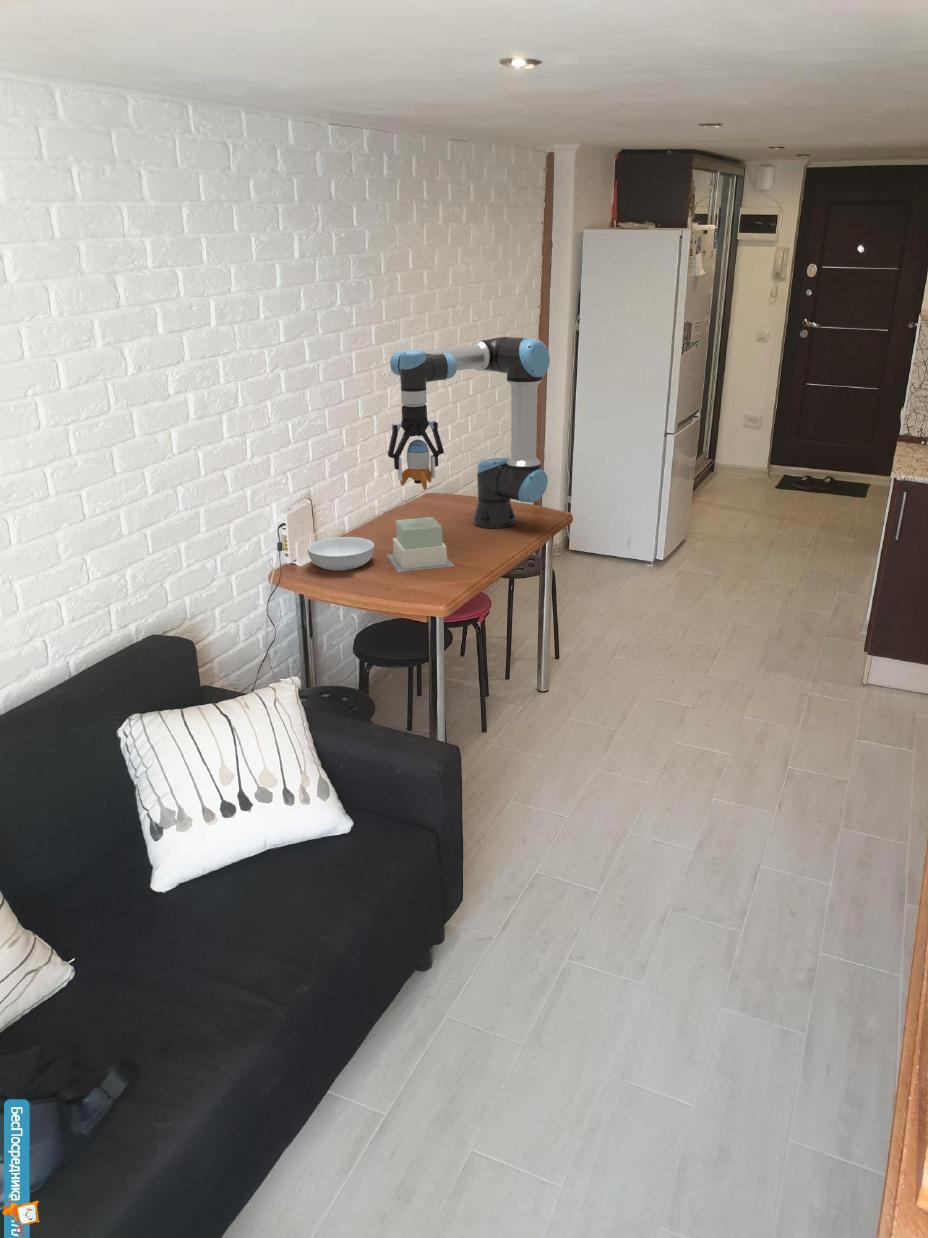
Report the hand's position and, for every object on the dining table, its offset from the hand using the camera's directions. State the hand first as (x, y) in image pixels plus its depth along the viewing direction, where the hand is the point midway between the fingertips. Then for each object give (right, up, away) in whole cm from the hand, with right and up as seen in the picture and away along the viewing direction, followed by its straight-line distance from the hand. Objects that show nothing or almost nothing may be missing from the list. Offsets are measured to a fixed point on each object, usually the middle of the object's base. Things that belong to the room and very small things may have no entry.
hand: (416, 478), depth 290 cm
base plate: (+1, -25, +10) cm, 27 cm away
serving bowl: (-24, -27, +9) cm, 37 cm away
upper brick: (0, -19, +8) cm, 20 cm away
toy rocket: (0, -2, +1) cm, 2 cm away
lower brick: (+1, -24, +10) cm, 26 cm away
